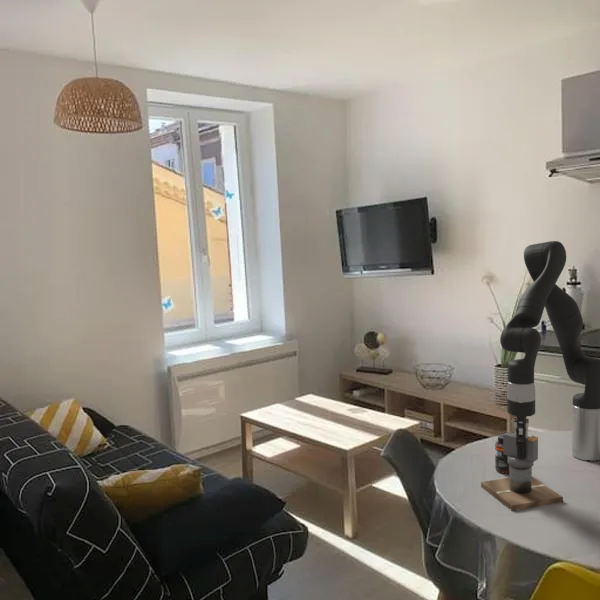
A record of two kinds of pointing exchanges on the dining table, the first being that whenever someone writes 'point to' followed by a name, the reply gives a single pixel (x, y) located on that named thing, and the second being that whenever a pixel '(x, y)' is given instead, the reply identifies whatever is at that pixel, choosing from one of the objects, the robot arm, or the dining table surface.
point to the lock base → (521, 498)
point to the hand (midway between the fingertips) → (521, 454)
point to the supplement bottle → (501, 457)
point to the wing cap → (511, 450)
